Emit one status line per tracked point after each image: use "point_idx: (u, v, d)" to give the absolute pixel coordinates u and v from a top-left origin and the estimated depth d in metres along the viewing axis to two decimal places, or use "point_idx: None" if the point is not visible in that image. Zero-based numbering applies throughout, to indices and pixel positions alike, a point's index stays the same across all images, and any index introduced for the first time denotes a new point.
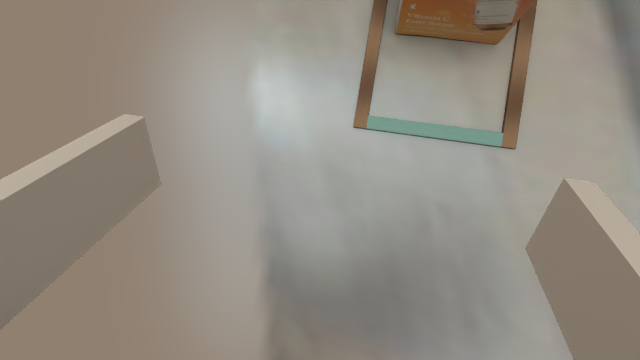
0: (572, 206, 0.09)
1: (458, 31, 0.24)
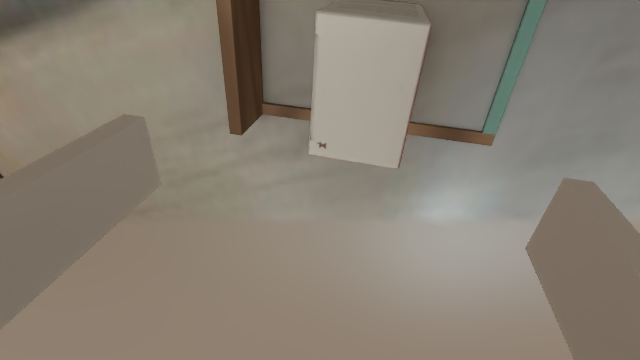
0: (572, 206, 0.09)
1: None
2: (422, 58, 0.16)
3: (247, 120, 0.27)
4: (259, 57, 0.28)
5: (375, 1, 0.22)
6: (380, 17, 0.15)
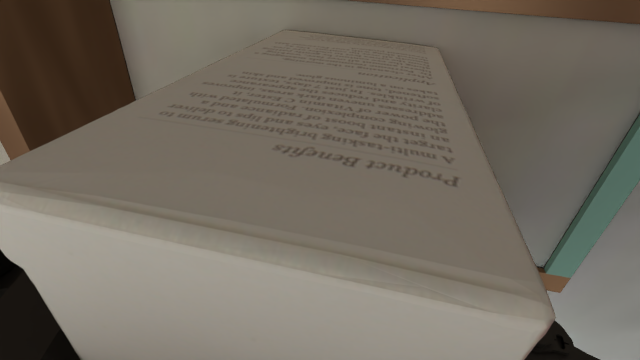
0: None
1: None
2: None
3: None
4: None
5: (333, 46, 0.10)
6: (267, 237, 0.03)
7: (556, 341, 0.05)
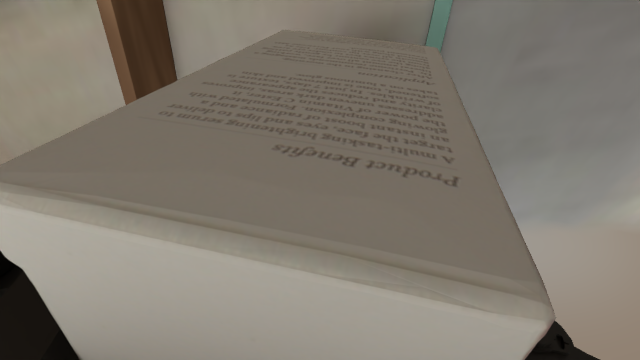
0: None
1: None
2: None
3: None
4: (169, 57, 0.26)
5: (333, 46, 0.10)
6: (266, 236, 0.03)
7: (556, 341, 0.05)
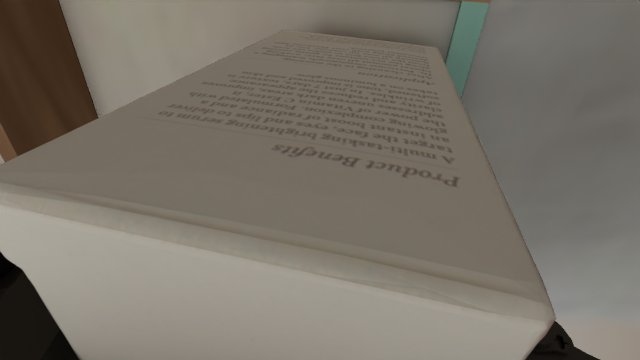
0: None
1: None
2: None
3: None
4: (82, 93, 0.19)
5: (333, 46, 0.10)
6: (266, 237, 0.03)
7: (556, 342, 0.05)
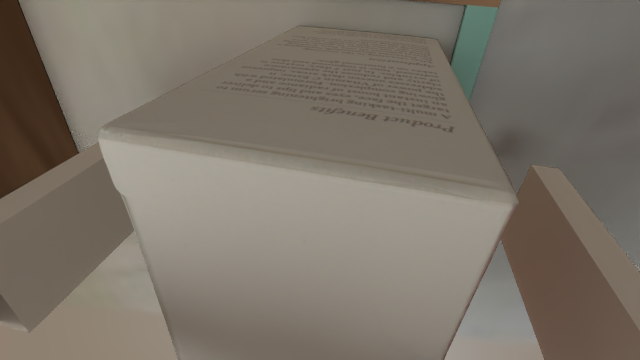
0: (537, 190, 0.09)
1: None
2: (474, 288, 0.04)
3: None
4: (51, 104, 0.17)
5: (344, 38, 0.11)
6: (318, 158, 0.04)
7: None
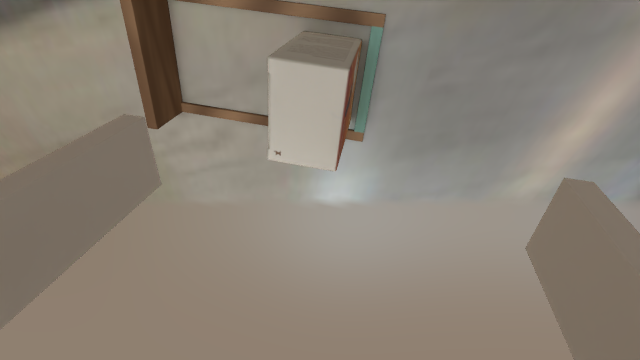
0: (572, 206, 0.09)
1: (355, 80, 0.30)
2: (345, 92, 0.22)
3: (163, 117, 0.33)
4: (174, 65, 0.33)
5: (323, 37, 0.28)
6: (314, 63, 0.21)
7: None
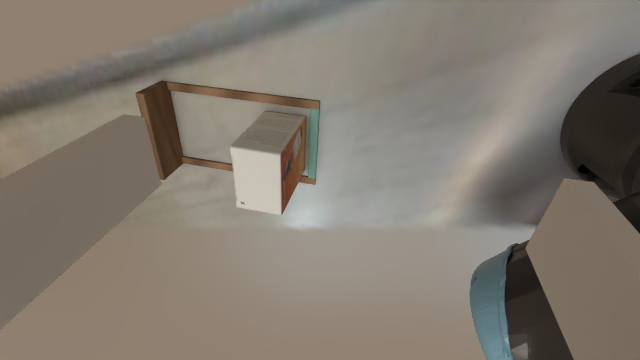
0: (572, 206, 0.09)
1: (303, 144, 0.42)
2: (280, 167, 0.33)
3: (168, 170, 0.46)
4: (176, 132, 0.46)
5: (276, 118, 0.40)
6: (258, 150, 0.33)
7: None
